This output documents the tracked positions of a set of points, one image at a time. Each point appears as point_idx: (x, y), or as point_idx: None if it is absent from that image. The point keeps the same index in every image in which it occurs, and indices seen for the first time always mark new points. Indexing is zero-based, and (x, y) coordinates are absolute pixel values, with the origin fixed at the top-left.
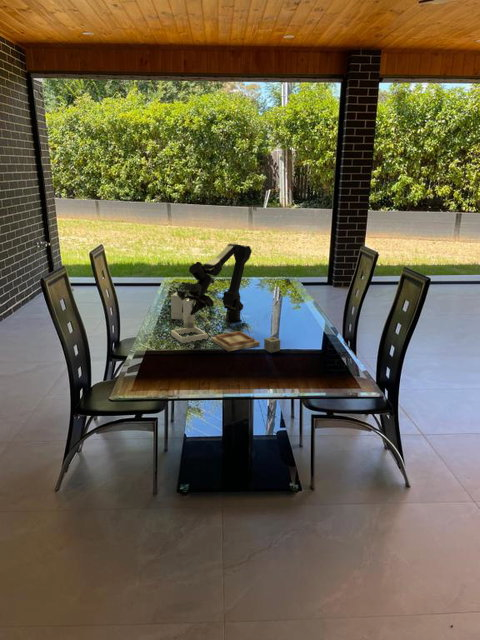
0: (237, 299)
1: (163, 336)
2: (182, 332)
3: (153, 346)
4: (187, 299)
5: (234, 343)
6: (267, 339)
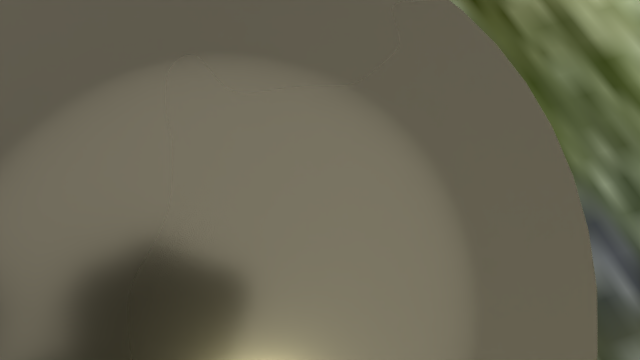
0: None
1: (617, 293)
2: None
3: (530, 6)
4: (230, 266)
5: None
6: None
